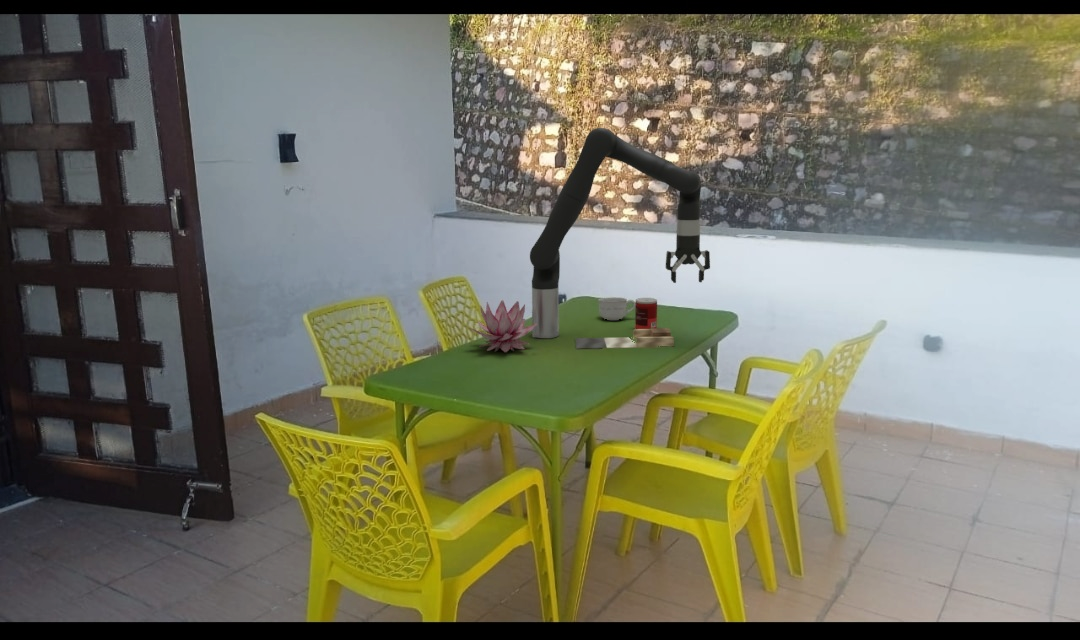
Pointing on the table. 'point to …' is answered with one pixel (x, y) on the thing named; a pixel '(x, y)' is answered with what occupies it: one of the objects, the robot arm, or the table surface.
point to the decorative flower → (504, 327)
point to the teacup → (614, 307)
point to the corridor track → (625, 341)
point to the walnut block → (660, 332)
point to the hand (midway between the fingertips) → (687, 282)
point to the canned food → (646, 313)
